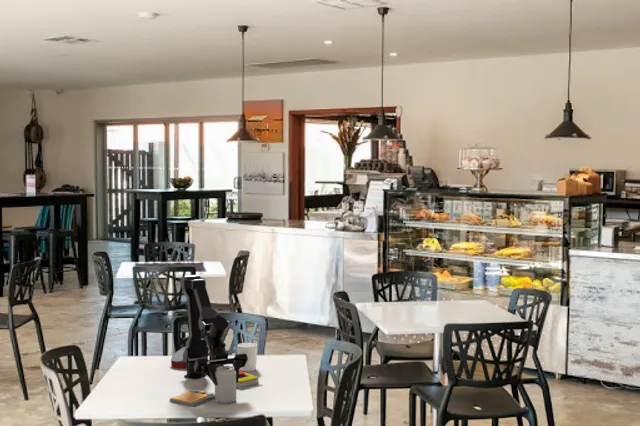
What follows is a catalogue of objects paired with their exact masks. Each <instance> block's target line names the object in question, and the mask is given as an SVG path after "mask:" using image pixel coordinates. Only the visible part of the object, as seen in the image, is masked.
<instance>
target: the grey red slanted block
mask: <svg viewBox="0 0 640 426" xmlns="http://www.w3.org/2000/svg"><path fill="white" fill-rule="evenodd" d="M185 348H186V345H185V346H183V347H181V348H180V349H179V350H177V351H176V352H175V353H173V354H172V356H171V359H170V361H171V362H170V365H171V367H170V368H173V369H180V370H182V369H186V370H187V363H186V362H185V361H183V353H184V350H185Z"/></svg>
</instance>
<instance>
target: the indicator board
mask: <svg viewBox="0 0 640 426" xmlns="http://www.w3.org/2000/svg"><path fill="white" fill-rule="evenodd" d="M210 400H215V392H212V391H209V392H208V391H205V390H199V389H191V390H190V391H186V392H184V393H181V394H178V395H176V396H173V397H170V398H169V402H170V403H176V404H180V405H186V406H191V407H196V406H199V405H201V404H205V403H206V402H209V401H210Z"/></svg>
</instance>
